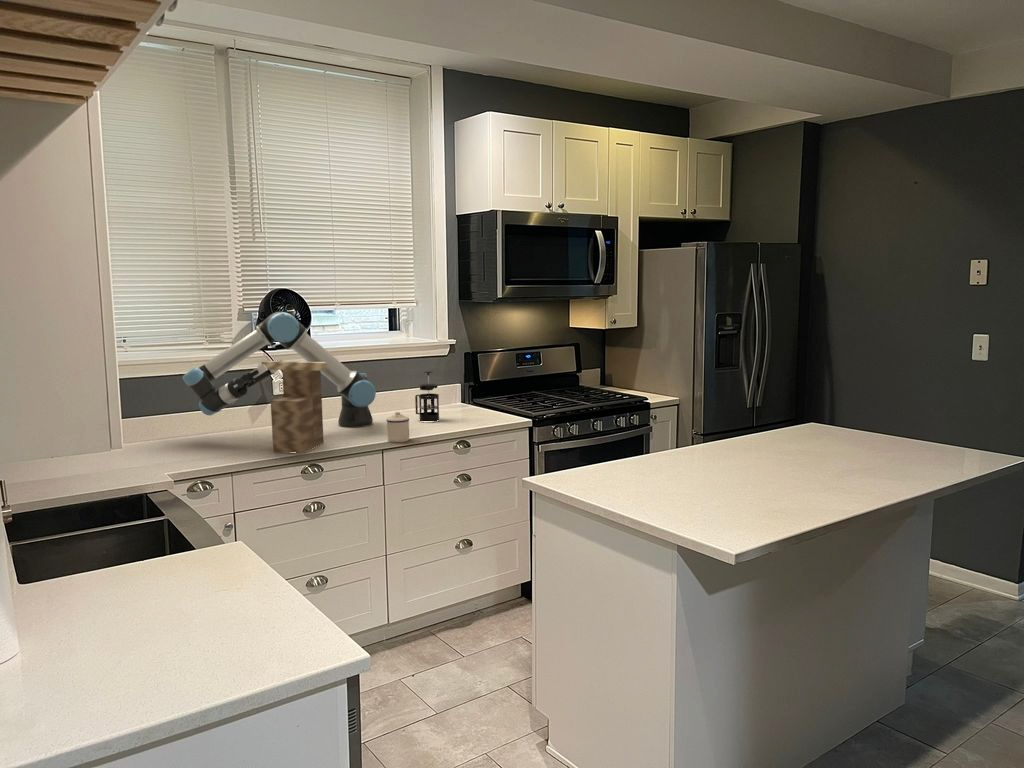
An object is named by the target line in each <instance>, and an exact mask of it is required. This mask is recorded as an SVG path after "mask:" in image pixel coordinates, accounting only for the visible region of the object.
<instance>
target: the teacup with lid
mask: <svg viewBox="0 0 1024 768" xmlns="http://www.w3.org/2000/svg"><path fill="white" fill-rule="evenodd" d="M409 421H410V418H409V417H408V416H405V415H404V414H401V412H400V411H395V412H394V414H393V415H391V416H389V417H387V418H386V421H385V422H386V431H387V433H386V435H387V441H388V442H390V443H404V442H405V443H406V442H408V441H409V440H410V425H409Z"/></svg>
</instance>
